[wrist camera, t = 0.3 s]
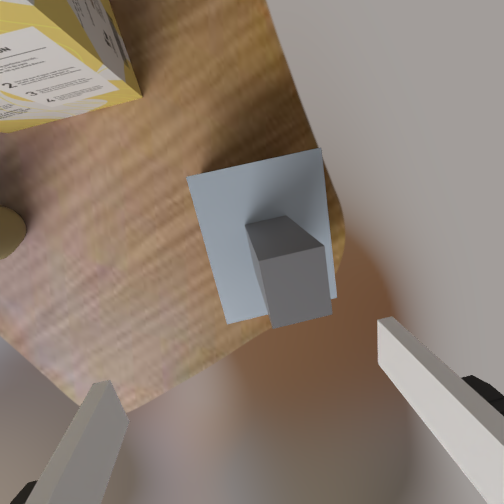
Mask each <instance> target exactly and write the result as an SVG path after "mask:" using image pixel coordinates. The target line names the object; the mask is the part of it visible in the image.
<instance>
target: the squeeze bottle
mask: <svg viewBox="0 0 504 504" xmlns="http://www.w3.org/2000/svg"><path fill="white" fill-rule="evenodd" d="M25 235H26V225H25V223H24V221H23V219H22V218H21V217H20V216H19V215H18V214H17V213H16V212H15V211H13V210H11V209H9V208H7V207H4V206H0V260H1V259H4V258H6V257H8V256H9V255H10V254H11V253H12V252H14V251H15V249H16V248H17V247H18V246H19V244H20V243H21V242H22V241H23V240H24V237H25Z"/></svg>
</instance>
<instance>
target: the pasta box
mask: <svg viewBox="0 0 504 504" xmlns="http://www.w3.org/2000/svg"><path fill="white" fill-rule="evenodd" d="M139 98H143V96H142V94H141V91H140V88H139V85H138V82H137V79H136V76H135V74H134V71H133V68H132V65H131V62H130V59H129V56H128V54H127V51H126V48H125V45H124V42H123V39H122V36H121V34H120V31H119V28H118V25H117V22H116V19H115V16H114V14H113V11H112V8H111V5H110V2H109V0H0V132H3V133H10V132H14V131H18V130H22V129H26V128H29V127H33V126H37V125H41V124H45V123H48V122H52V121H56V120H60V119H64V118H67V117H71V116H75V115H79V114H83V113H86V112H90V111H94V110H98V109H102V108H105V107H109V106H113V105H117V104H121V103H124V102H128V101H132V100H136V99H139Z"/></svg>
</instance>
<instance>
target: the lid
mask: <svg viewBox="0 0 504 504" xmlns="http://www.w3.org/2000/svg"><path fill="white" fill-rule="evenodd" d="M186 178H187V182H188V185H189V189H190V193H191V196H192V200H193V203H194V207H195V210H196V214H197V218H198V221H199V225H200V228H201V232H202V236H203V239H204V243H205V246H206V250H207V253H208V257H209V261H210V264H211V268H212V271H213V275H214V278H215V282H216V286H217V289H218V293H219V296H220V300H221V304H222V307H223V311H224V314H225V318H226V321H227V324H230V323H234V322H238V321H243V320H247V319H251V318H255V317H259V316H263V315H267V314H268V315H269V318H270V321H271V324H272V328H273V329H274V328H278V327H282V326H286V325H290V324H295V323H299V322H303V321H307V320H311V319H315V318H319V317H323V316H327V315H331V314H332V306H331V299H333V298H337V293H336V283H335V274H334V264H333V255H332V245H331V236H330V226H329V217H328V207H327V198H326V188H325V178H324V169H323V159H322V150H321V148H316V149H311V150H307V151H302V152H298V153H293V154H288V155H284V156H279V157H275V158H270V159H266V160H261V161H256V162H252V163H247V164H243V165H238V166H233V167H229V168H224V169H220V170H215V171H210V172H206V173H201V174H197V175H192V176H188V177H186Z"/></svg>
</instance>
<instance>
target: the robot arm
mask: <svg viewBox="0 0 504 504" xmlns="http://www.w3.org/2000/svg"><path fill="white" fill-rule="evenodd" d="M378 364H379V365H380V367H381V368H382V369H383V370H384V372H385V373H386V374H387V376H388V377H389V378H390V379H391V381H392V382H393V383H394V384H395V386H396V387H397V388H398V390H399V391H400V392H401V393H402V395H403V396H404V397H405V398H406V400H407V401H408V402H409V404H410V405H411V406H412V407H413V409H414V410H415V411H416V412H417V413H418V415H419V416H420V417H421V419H422V420H423V421H424V423H425V424H426V425H427V427H428V428H429V429H430V430H431V432H432V433H433V434H434V435H435V437H436V438H437V439H438V441H440V443H441V444H442V446H443V447H444V448H445V449H446V451H447V452H448V453H449V454H450V456H451V457H452V458H453V460H454V461H455V462H456V463H457V465H458V466H459V467H460V468H461V470H462V471H463V472H464V474H465V475H466V476H467V478H468V479H469V480H470V481H471V483H472V484H473V485H474V486H475V487H476V489H477V490H478V491H479V493H480V494H481V495H482V497H483V498H484V499H485V500H486V502H487V503H488V504H504V396H503V395H502V394H501V393H500V392H498V391H497V390H496V389H495V388H494V387H492V386H491V385H490V384H488V383H486V382H484V381H482V380H480V379H479V378H476V377H475V376H473V375H471V376H467V377H463V378H460V377H459V376H458V375H457V374H456V373H455V372H453V371H452V370H451V369H450V368H449V367H448V366H447V365H446V364H445V363H443V362H442V361H441V360H440V359H439V358H438V357H437V356H436V355H435V354H433V353H432V352H431V351H430V350H429V349H428V348H427V347H426V346H425V345H423V344H422V343H421V342H420V341H419V340H418V339H417V338H416V337H415V336H413V335H412V334H411V333H410V332H409V331H408V330H407V329H406V328H405V327H403V326H402V325H401V324H400V323H399V322H398V321H397V320H396V319H394V318H393V317H388V318H383V319H379V320H378ZM128 424H129V420H128V417H127V415H126V413H125V411H124V409H123V407H122V405H121V402H120V400H119V398H118V396H117V394H116V392H115V390H114V388H113V385H112V383H111V381H110V380H107V381H103V382H98V383H94V384H93V385H92V387H91V389H90V391H89V392H88V394H87V396H86V397H85V399H84V401H83V403H82V404H81V406H80V408H79V410H78V411H77V413H76V415H75V417H74V419H73V420H72V422H71V424H70V426H69V427H68V429H67V431H66V433H65V435H64V436H63V438H62V439H61V441H60V443H59V445H58V447H57V448H56V450H55V452H54V454H53V455H52V457H51V459H50V460H49V462H48V464H47V466H46V468H45V469H44V471H43V473H42V474H41V476H40V478H39V480H37V481H33V482H29V483H27V485H26V486H25V487H24V488H23V489H22V490H21V491H20V492H19V494H18V495H17V496H16V497H15V498H14V499H13V501H12V502H11V503H10V504H101V501H102V499H103V495H104V493H105V490H106V487H107V484H108V481H109V479H110V475H111V473H112V470H113V467H114V464H115V461H116V459H117V455H118V453H119V450H120V447H121V444H122V441H123V438H124V436H125V433H126V430H127V427H128Z"/></svg>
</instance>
